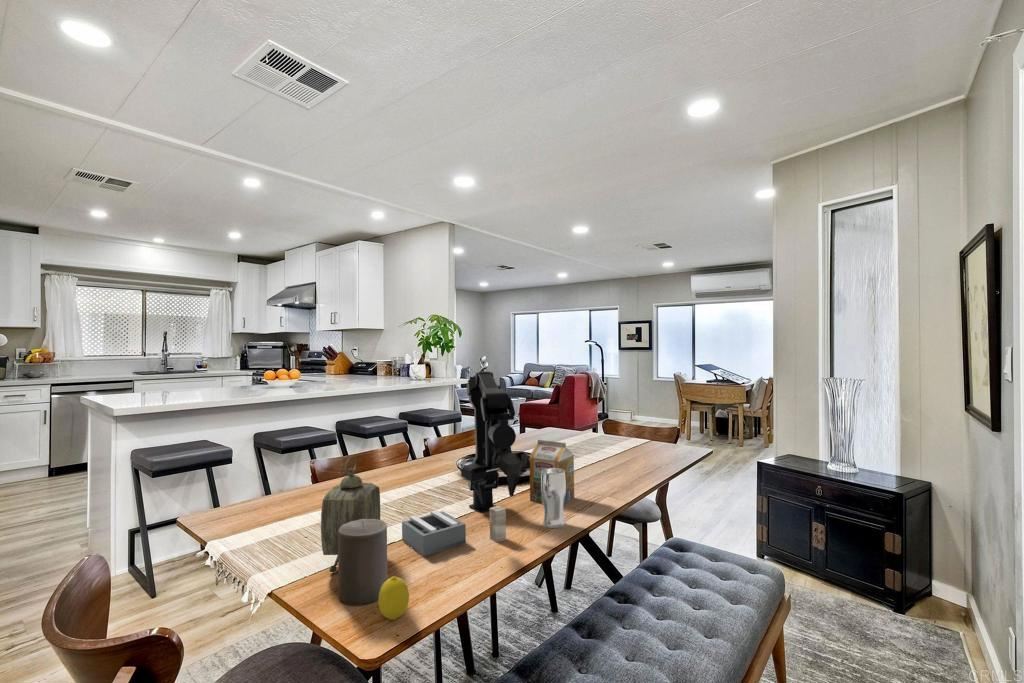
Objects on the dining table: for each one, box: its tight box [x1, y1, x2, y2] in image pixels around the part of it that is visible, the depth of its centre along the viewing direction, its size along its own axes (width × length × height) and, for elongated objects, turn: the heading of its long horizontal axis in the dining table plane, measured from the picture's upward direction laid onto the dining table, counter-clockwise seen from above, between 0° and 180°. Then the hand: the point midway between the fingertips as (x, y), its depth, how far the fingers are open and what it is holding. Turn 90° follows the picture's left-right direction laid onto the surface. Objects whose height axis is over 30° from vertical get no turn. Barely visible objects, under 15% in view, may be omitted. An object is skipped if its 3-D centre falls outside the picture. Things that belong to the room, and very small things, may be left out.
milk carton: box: [529, 439, 575, 504], centre depth 153 cm, size 11×11×19 cm
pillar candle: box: [337, 519, 388, 607], centre depth 97 cm, size 10×10×15 cm
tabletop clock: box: [320, 455, 381, 573], centre depth 111 cm, size 14×9×25 cm, turn 178°
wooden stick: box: [489, 505, 507, 543], centre depth 122 cm, size 3×3×8 cm
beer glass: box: [541, 468, 566, 529], centre depth 132 cm, size 7×7×15 cm
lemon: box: [377, 575, 410, 621], centre depth 87 cm, size 6×6×8 cm
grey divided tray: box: [401, 509, 467, 558], centre depth 121 cm, size 12×12×6 cm
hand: (497, 499), depth 123 cm, fingers open, 9 cm apart
